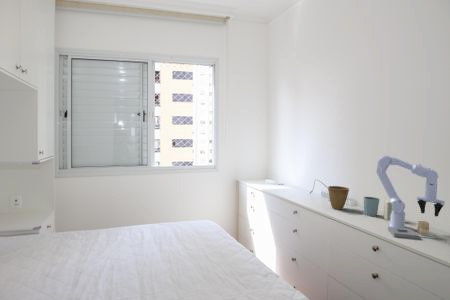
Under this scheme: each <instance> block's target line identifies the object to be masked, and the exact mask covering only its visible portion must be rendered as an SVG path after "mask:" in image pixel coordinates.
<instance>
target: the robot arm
mask: <svg viewBox="0 0 450 300" xmlns="http://www.w3.org/2000/svg"><path fill="white" fill-rule="evenodd" d="M390 165H391V166H399V167H401V168H404V169H407V170H410V171H411V173H412V174H414V175H416V176H418V177H422V178H425V179H426V181H425V186H424V187H425V188H424V189H425V190H424V197H423V196H417V197H416V200H417V205H418V206H419V209H420V213H421V214H425V211H426V205H427V203H432V204H433V206H434V217H439V215H440V211H441V210H442V208H443V207H444V205H445V203H446V202H445V200H440V199H437V193H438V178H439V173H438V172H437V171H436V170H434V169H431V168H429V167H428V168H427V167H425V166H423V165H422V164H420V163H419V164H414V165H413V164H411V163H409V162H407V161H404V160H401V159H399V158H396V157H394V156H393V157H392V156H390V155H384V156H381V157H380V158H379V159H378V161H377V166H376V174H377V176H378V179H379V180H380V182H381V185H382V186H383V188H384V190H385V192H386V194H387V197H388V199H389V201H391V204H392V210H393V211H392V213H391V215H390V220H389V223H388V227H399V228H406V226H405V222H406V221H405V220H406V212H405V209H406V204H405V202H404V201H402V200H401V198H400V197H399V194H397V192H396V190H395V188H394V185H393V184H392V182H391V180H390V177H389V176H388V174H387V170H388V168H389V167H390Z"/></svg>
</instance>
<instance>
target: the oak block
mask: <svg viewBox="0 0 450 300" xmlns="http://www.w3.org/2000/svg"><path fill="white" fill-rule="evenodd" d="M429 231H430V222H428V221H426V220H425V221H424V220H418V221H417V231H416V232H417V233H418V234H420V235H424V236H429V233H430V232H429Z"/></svg>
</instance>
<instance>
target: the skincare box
mask: <svg viewBox="0 0 450 300" xmlns="http://www.w3.org/2000/svg"><path fill="white" fill-rule="evenodd" d="M392 211H393V210H392V204H391V201H390V200H384V205H383V219H384V220H386V221H390V215H391V213H392Z"/></svg>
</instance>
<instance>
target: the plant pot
mask: <svg viewBox="0 0 450 300" xmlns="http://www.w3.org/2000/svg"><path fill="white" fill-rule="evenodd" d="M327 189H328V191H327V192H328V197H329V202H330V205H331V208H332V210H337V209H338V210H341V209H342V210H343V209H344V206H345V204H346V202H347V198H348V196H349V191H350V188H349V187H346V186H339V185H338V186H337V185H330V186H328V187H327ZM338 210H337V211H338Z"/></svg>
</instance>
